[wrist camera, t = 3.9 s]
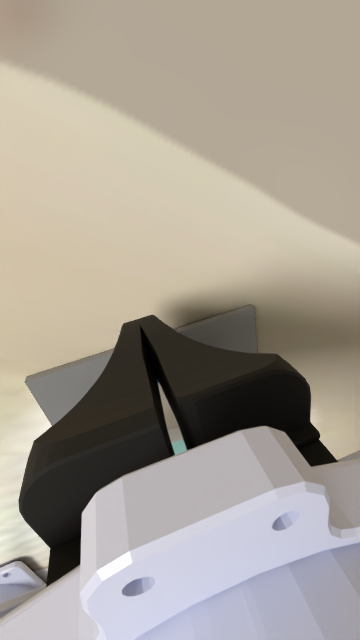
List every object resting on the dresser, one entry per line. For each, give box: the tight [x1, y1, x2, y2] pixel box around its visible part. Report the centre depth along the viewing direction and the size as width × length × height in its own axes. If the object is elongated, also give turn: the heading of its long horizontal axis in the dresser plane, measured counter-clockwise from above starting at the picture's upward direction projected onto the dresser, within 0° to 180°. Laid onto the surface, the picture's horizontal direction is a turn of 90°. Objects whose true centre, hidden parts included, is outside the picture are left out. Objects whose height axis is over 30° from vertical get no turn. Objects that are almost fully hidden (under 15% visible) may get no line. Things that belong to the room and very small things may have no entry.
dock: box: [25, 305, 258, 426], centre depth 19 cm, size 12×22×2 cm, turn 12°
